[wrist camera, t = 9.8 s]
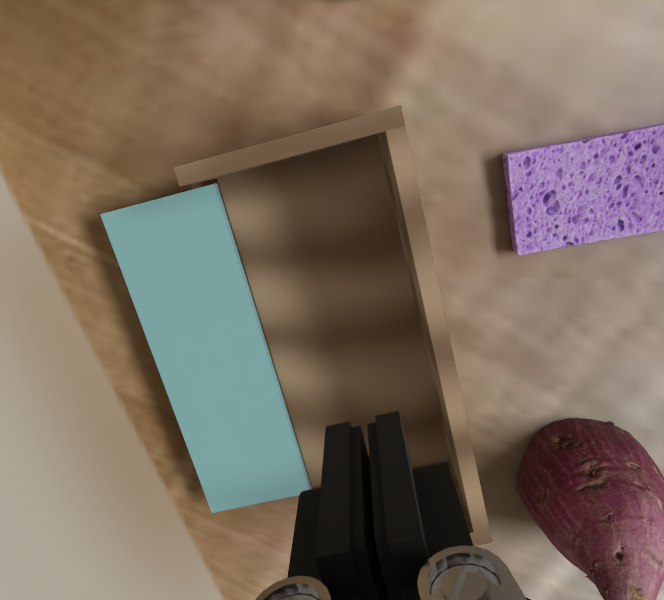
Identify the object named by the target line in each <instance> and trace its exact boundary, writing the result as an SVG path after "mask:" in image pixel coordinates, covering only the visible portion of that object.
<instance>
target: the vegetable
mask: <svg viewBox="0 0 664 600" xmlns="http://www.w3.org/2000/svg"><path fill="white" fill-rule="evenodd" d="M516 491H517V492H519V494H520V496H521V498H522V500H523V502H524V505H525V507H526V509H527V511H528V513H529V514H530V516H531V517H532V518H533V519H534V521H535V522H536V523H537V525H538V526H539V527H540V528H541V529H542V531H543V532H544V534H545V535H546V536H547V538H548V539H549V540H550V541H551V543H552V544H553V545H554V546H555V547H556V548H557V550H558V551H559V552H560V553H561V554H562V555H563V556H564V557H565V558H566V559H567V560H569V561H570V562H571V563H572V564H573V565H575V566H576V567H577V568H579V569H580V570H581V571H583V572H584V573H585V574H587V576H585V577H588V578H589V579H590V580H591V581H592V582H593V583H594V584H595V585H596V587H597V588H598V590H599V592H600V594H601V596H602V597H603V599H604V600H656V598H657V595H658V593H659V590H660V588H661V585H662V582H663V580H664V477H663V475H662V473H661V471H660V470H659V468H658V467H657V465H656V464H655V463H654V461H653V460H652V458H651V457H650V456H649V454H648V453H647V451H646V450H645V449H644V448H643V447H642V445H641V444H640V443H639V442H638V441H637V440H636V439H635V438H634V437H633V436H632V435H631V434H630V433H629V432H627V431H625V430H623V429H620V428H619V427H617V426H615V425H614V423H613V422H602V421H597V420H591V419H578V418H571V419H566V420H561V421H557V422H554V423H552V424H550V425H548V426H546V427H544V428H543V429H542V430H541V431H539V432H538V434H537V435H536V436H535V437H534V438H533V440H532V441H531V442H530V444H529V446H528V448H527V450H526V452H525V455H524V457H523V460H522V462H521V465H520V468H519V471H518V474H517V490H516Z"/></svg>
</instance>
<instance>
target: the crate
mask: <svg viewBox="0 0 664 600" xmlns="http://www.w3.org/2000/svg"><path fill="white" fill-rule="evenodd" d="M173 168H174V171H175V174H176V177H177V180H178V183H179V186H184V185H189V184H193V183H198V182H202V181H207V180H211V179H216V178H217V181H218V184H219V187H220V191H221V194H222V197H223V200H224V204H225V207H226V210H227V213H228V217H229V220H230V223H231V226H232V230H233V233H234V236H235V239H236V243H237V246H238V249H239V252H240V255H241V259H242V262H243V265H244V268H245V272H246V275H247V278H248V281H249V285H250V288H251V291H252V294H253V298H254V301H255V304H256V307H257V311H258V314H259V317H260V320H261V323H262V327H263V330H264V333H265V336H266V340H267V343H268V346H269V349H270V353H271V356H272V359H273V362H274V366H275V369H276V372H277V375H278V379H279V382H280V385H281V388H282V391H283V395H284V398H285V401H286V404H287V408H288V411H289V414H290V417H291V421H292V424H293V427H294V430H295V434H296V437H297V440H298V443H299V447H300V450H301V453H302V456H303V459H304V463H305V466H306V469H307V472H308V476H309V479H310V482H311V485H312V489H316V488H320V487H321V477H322V465H323V453H324V441H325V429H326V426H329V425H334V424H339V423H343V422H348V421H350V422H351V425H352V427H355V426H361V429H362V432H363V436H364V439H365V443H366V447H367V451H368V454H369V444H368V428H367V424H370V423H374V422H376V420H375V416H376V415H381V414H385V413H390V412H395V411H399V413H400V417H401V421H402V425H403V429H404V433H405V437H406V441H407V445H408V449H409V453H410V458H411V462H412V466H413V469H414V468H419V467H424V466H429V465H434V464H439V463H444V462H447V463H448V466H449V469H450V472H451V475H452V479H453V482H454V485H455V488H456V491H457V495H458V498H459V501H460V504H461V507H462V511H463V514H464V517H465V520H466V523H467V527H468V530H469V533H470V536H471V539H472V542H473V546H476V545H481V544H487V543H492V538H491V533H490V528H489V524H488V519H487V514H486V509H485V504H484V500H483V495H482V490H481V485H480V481H479V476H478V471H477V466H476V461H475V457H474V452H473V447H472V442H471V438H470V433H469V428H468V423H467V418H466V414H465V409H464V404H463V399H462V395H461V390H460V385H459V380H458V375H457V371H456V366H455V361H454V356H453V352H452V347H451V342H450V337H449V332H448V328H447V323H446V318H445V313H444V309H443V304H442V299H441V294H440V289H439V285H438V280H437V275H436V270H435V265H434V261H433V256H432V251H431V246H430V242H429V237H428V232H427V227H426V222H425V218H424V213H423V208H422V203H421V199H420V194H419V189H418V184H417V179H416V175H415V170H414V165H413V160H412V156H411V151H410V146H409V141H408V136H407V132H406V127H405V122H404V117H403V113H402V108H401V105H400V106H396V107H393V108H389V109H385V110H382V111H378V112H374V113H371V114H367V115H363V116H360V117H356V118H352V119H349V120H345V121H341V122H338V123H334V124H330V125H327V126H323V127H319V128H316V129H312V130H308V131H305V132H301V133H297V134H294V135H290V136H286V137H283V138H279V139H275V140H272V141H268V142H265V143H261V144H257V145H254V146H250V147H246V148H243V149H239V150H235V151H232V152H228V153H224V154H221V155H217V156H213V157H210V158H206V159H202V160H199V161H195V162H191V163H188V164H184V165H180V166H177V167H173Z"/></svg>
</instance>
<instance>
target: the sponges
mask: <svg viewBox="0 0 664 600" xmlns="http://www.w3.org/2000/svg"><path fill="white" fill-rule="evenodd" d="M502 156H503V166H504V175H505V183H506V194H507V202H508V212H509V221H510V229H511V239H512V246H513V251H514V252H515V253H517V254H518V255H525V254H529V253H533V252H538V251H546V250H551V249H554V248H561V247H563V246H568V245H580V244H585V243H594V242H597V241H601V240H609V239H614V238H622V237H627V236H633V235H638V234H643V233H651V232H657V231H662V230H664V124H661V125H654V126H649V127H644V128H639V129H634V130H629V131H623V132H619V133H612V134H607V135H602V136H597V137H591V138H585V139H580V140H575V141H568V142H563V143H558V144H551V145H545V146H539V147H534V148H527V149H522V150H516V151H512V152H507V153H503V155H502Z"/></svg>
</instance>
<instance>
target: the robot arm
mask: <svg viewBox="0 0 664 600" xmlns="http://www.w3.org/2000/svg"><path fill="white" fill-rule="evenodd" d="M375 420H376V422H374V423H370V424H367V428H368V444H369V454H368V451H367V447H366V443H365V439H364V436H363V432H362V429H361V426H355V427H352V425H351V422H350V421H348V422H343V423H339V424H334V425H329V426H326V429H325V441H324V453H323V465H322V477H321V487H320V488H316V489H311V490H306V491H302V492H301V493H300V496H299V501H298V508H297V515H296V522H295V529H294V536H293V543H292V550H291V557H290V564H289V571H288V578H285V579H283V580H281V581H278V582H276V583H274V584H272V585H271V586H270V587H268V588H267V589H265V590H264V591H263V592H262V593H261V594H260V595H259V596H258V597H257V598H256V599H255V600H530V599H528V598H526V597H525V596H524V594H523V593H522V591H521V589H520V587H519V586H518V584H517V582H516V581H515V579H514V577H513V576H512V574H511V572H510V571H509V569H508V567H507V566H506V565H505V564H504V562H503V561H502V560H501V559H500V558H499V557H498V556H496V555H495V554H493V553H492V552H490V551H488V550H486V549H482V548H479V547H476V546H473V542H472V539H471V536H470V533H469V530H468V527H467V523H466V520H465V517H464V514H463V511H462V507H461V504H460V501H459V498H458V495H457V491H456V488H455V485H454V482H453V479H452V475H451V472H450V469H449V466H448V463H447V462H444V463H439V464H434V465H429V466H424V467H419V468H414V469H413V466H412V462H411V458H410V453H409V449H408V445H407V441H406V437H405V433H404V429H403V425H402V421H401V417H400V413H399V411H395V412H390V413H385V414H381V415H376V416H375Z"/></svg>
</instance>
